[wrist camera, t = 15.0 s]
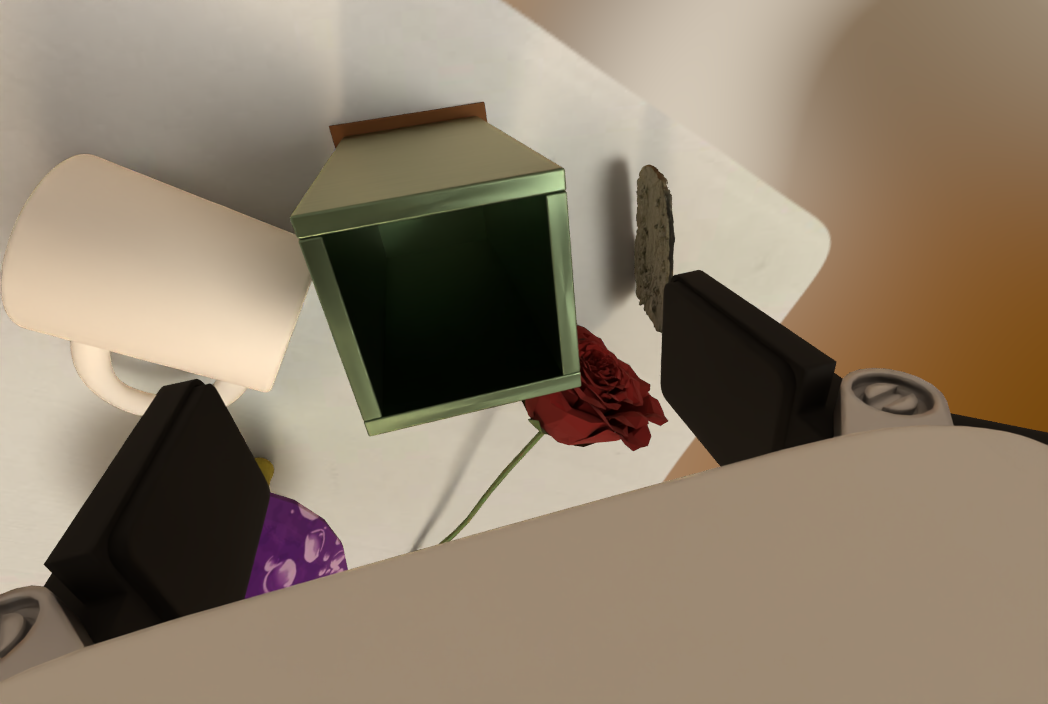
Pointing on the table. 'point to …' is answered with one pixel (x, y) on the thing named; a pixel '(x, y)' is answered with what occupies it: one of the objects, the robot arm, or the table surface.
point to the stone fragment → (653, 242)
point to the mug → (152, 280)
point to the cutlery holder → (442, 270)
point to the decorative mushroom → (292, 545)
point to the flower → (590, 409)
